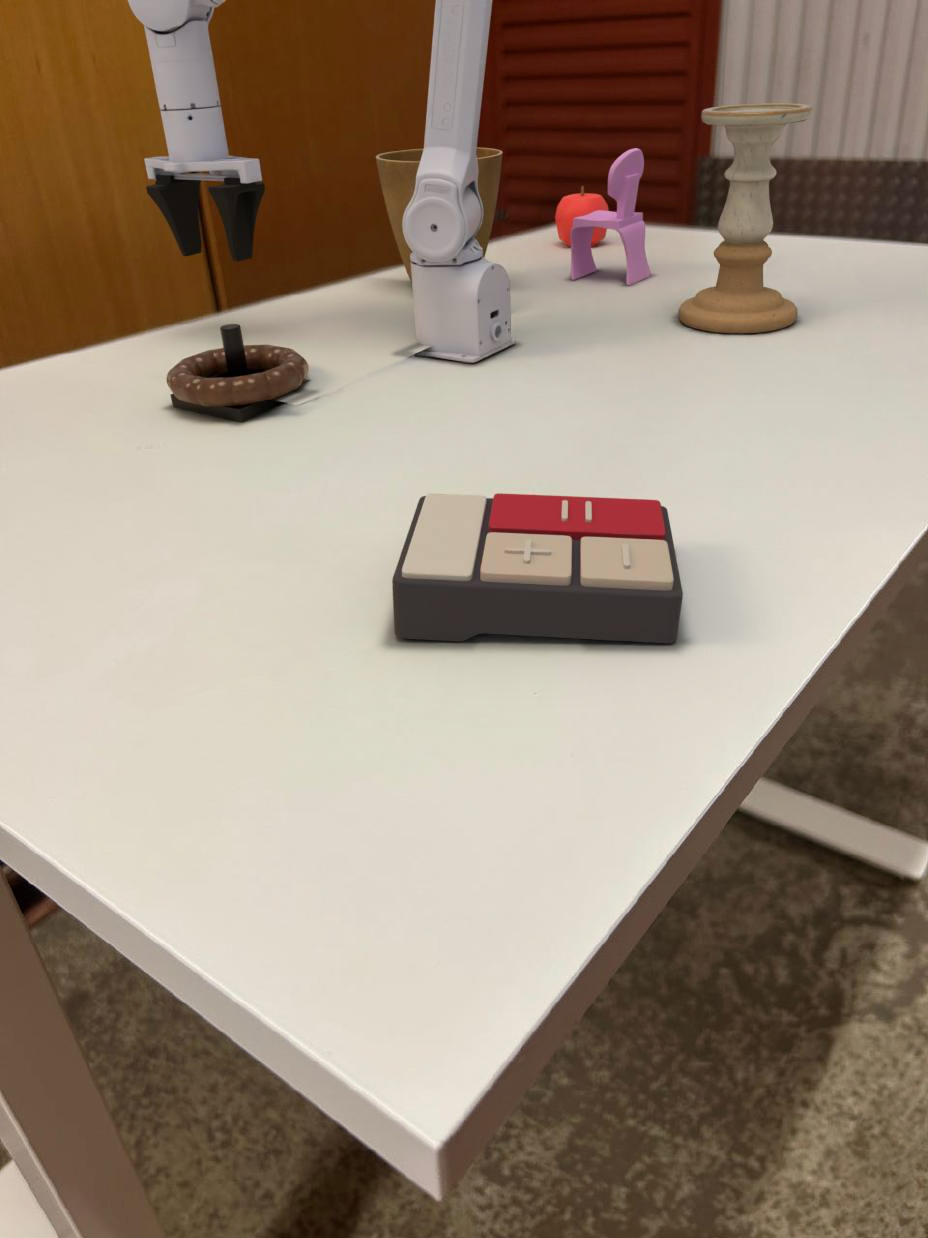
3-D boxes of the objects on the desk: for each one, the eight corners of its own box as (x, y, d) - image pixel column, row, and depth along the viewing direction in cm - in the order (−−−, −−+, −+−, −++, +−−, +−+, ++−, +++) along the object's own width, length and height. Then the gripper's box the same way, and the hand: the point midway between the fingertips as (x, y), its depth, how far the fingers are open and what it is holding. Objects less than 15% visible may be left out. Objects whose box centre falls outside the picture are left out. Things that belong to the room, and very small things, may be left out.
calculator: (686, 583, 48) (389, 568, 49) (676, 655, 50) (393, 639, 51) (668, 492, 57) (419, 482, 58) (660, 556, 59) (421, 545, 61)
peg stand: (312, 392, 89) (302, 319, 86) (241, 422, 83) (227, 345, 79) (244, 379, 94) (232, 309, 90) (172, 407, 88) (156, 333, 84)
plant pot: (419, 313, 112) (408, 163, 104) (370, 291, 124) (356, 154, 115) (528, 294, 118) (526, 150, 109) (471, 274, 129) (465, 142, 121)
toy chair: (595, 268, 128) (597, 143, 120) (655, 273, 124) (661, 144, 116) (563, 281, 123) (564, 151, 115) (625, 287, 118) (629, 152, 110)
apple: (552, 250, 140) (552, 191, 136) (557, 240, 147) (557, 183, 143) (607, 249, 139) (609, 189, 134) (609, 238, 145) (611, 181, 141)
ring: (336, 377, 89) (333, 351, 88) (238, 418, 80) (233, 390, 79) (242, 360, 95) (238, 336, 94) (142, 397, 87) (136, 370, 85)
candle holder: (667, 331, 100) (680, 114, 90) (689, 302, 110) (703, 104, 99) (789, 337, 96) (818, 111, 86) (801, 307, 106) (828, 100, 95)
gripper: (108, 112, 93) (140, 259, 100) (211, 110, 85) (237, 269, 92) (165, 105, 97) (192, 246, 105) (267, 104, 90) (288, 255, 97)
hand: (217, 256), depth 99 cm, fingers open, 7 cm apart
